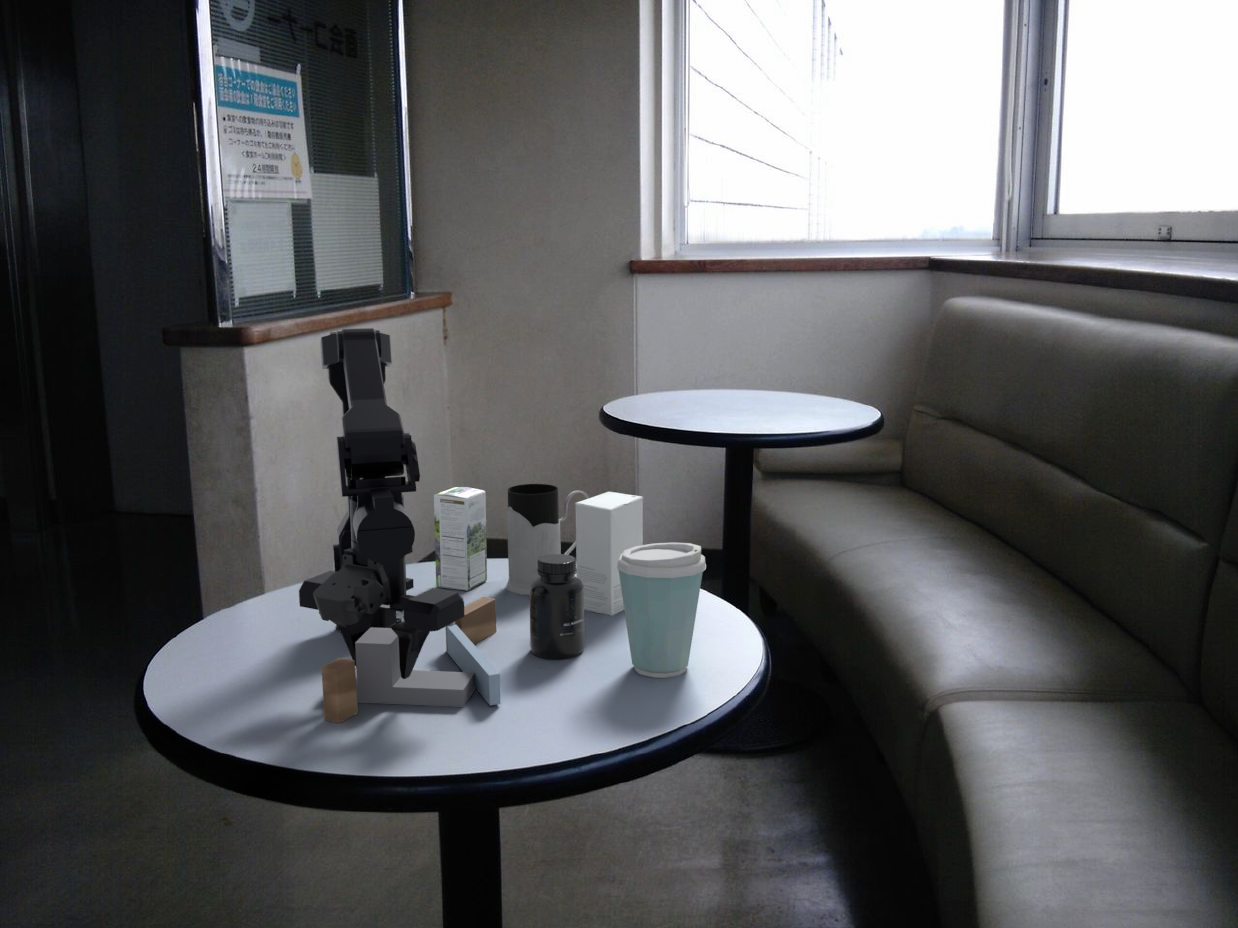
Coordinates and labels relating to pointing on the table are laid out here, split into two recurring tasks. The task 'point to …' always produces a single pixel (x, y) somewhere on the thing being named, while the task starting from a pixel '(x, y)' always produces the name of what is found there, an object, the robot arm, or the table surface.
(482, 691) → the door leaf
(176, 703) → the table surface
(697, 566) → the disposable coffee cup
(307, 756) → the table surface
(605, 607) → the skincare box
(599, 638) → the table surface
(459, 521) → the syrup box
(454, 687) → the gray t-shaped pedestal
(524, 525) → the glass holder
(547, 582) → the supplement bottle
